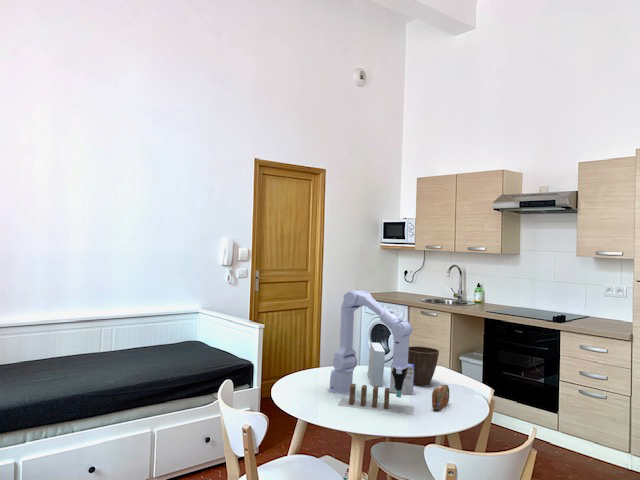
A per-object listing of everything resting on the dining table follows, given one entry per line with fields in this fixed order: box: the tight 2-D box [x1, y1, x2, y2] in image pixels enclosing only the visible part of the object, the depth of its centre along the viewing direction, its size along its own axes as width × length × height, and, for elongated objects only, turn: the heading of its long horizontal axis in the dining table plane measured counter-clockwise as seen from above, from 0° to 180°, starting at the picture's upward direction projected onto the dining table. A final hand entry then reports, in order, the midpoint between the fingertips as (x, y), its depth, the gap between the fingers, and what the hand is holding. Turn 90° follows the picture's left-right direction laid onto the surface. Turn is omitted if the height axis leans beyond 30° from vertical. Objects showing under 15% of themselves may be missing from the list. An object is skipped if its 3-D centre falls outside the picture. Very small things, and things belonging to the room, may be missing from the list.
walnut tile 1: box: [348, 383, 357, 405], centre depth 194 cm, size 2×4×7 cm, turn 167°
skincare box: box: [367, 342, 386, 387], centre depth 231 cm, size 21×5×16 cm, turn 179°
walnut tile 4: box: [383, 387, 391, 409], centre depth 191 cm, size 2×4×7 cm, turn 167°
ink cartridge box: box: [389, 361, 415, 396], centre depth 214 cm, size 10×6×14 cm, turn 78°
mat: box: [336, 397, 415, 416], centre depth 192 cm, size 29×10×1 cm, turn 77°
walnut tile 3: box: [371, 386, 379, 408], centre depth 192 cm, size 2×4×7 cm, turn 167°
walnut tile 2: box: [360, 384, 368, 406], centre depth 193 cm, size 2×4×7 cm, turn 167°
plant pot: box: [408, 345, 440, 387], centre depth 228 cm, size 15×15×16 cm
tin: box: [431, 384, 450, 412], centre depth 195 cm, size 15×3×8 cm, turn 148°
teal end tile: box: [395, 390, 402, 398], centre depth 190 cm, size 2×4×7 cm, turn 167°
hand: (399, 388), depth 190 cm, fingers closed on teal end tile, 4 cm apart
